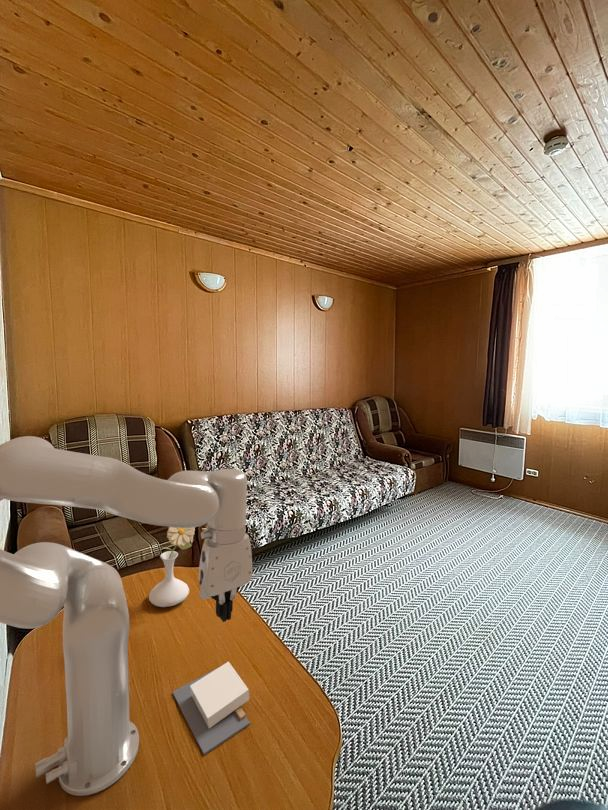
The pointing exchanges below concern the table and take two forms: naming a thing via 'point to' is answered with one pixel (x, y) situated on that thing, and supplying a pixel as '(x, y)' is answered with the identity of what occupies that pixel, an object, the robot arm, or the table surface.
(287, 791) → the table surface
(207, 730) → the charcoal mat
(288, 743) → the table surface
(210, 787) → the table surface
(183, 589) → the flower in vase
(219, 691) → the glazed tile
